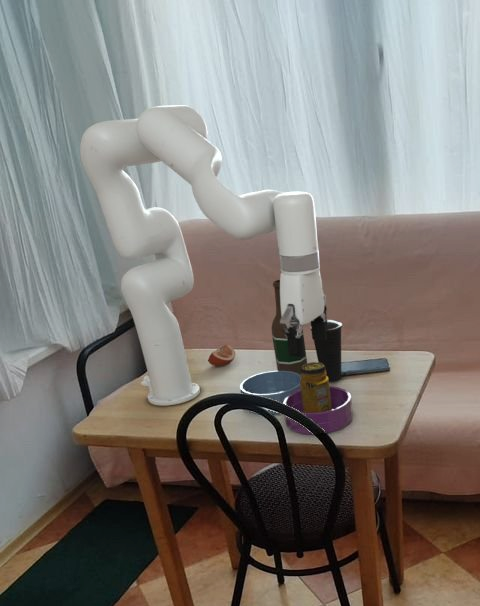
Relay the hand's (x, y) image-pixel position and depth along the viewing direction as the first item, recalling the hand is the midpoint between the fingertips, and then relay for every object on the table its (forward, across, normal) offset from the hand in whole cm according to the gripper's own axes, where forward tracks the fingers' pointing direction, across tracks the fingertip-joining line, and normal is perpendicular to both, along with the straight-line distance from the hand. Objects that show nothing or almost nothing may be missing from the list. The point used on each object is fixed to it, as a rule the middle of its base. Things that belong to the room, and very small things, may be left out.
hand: (308, 347), depth 129 cm
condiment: (+16, +1, +1) cm, 16 cm away
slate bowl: (+17, -6, -14) cm, 23 cm away
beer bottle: (+17, -22, -18) cm, 33 cm away
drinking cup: (+17, -22, -7) cm, 29 cm away
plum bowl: (+16, 0, +1) cm, 16 cm away
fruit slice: (+18, -24, -41) cm, 51 cm away
